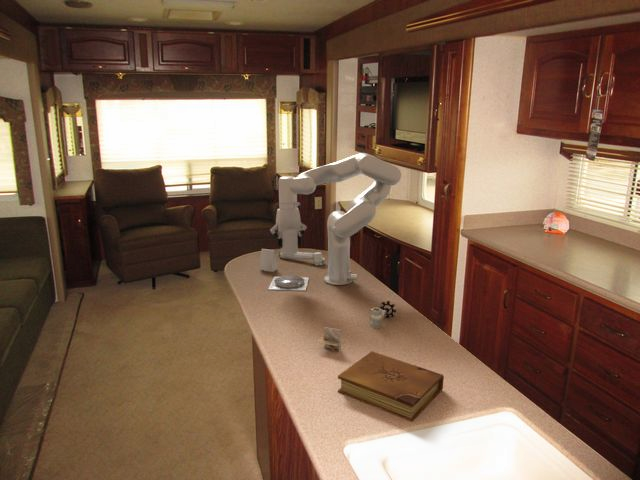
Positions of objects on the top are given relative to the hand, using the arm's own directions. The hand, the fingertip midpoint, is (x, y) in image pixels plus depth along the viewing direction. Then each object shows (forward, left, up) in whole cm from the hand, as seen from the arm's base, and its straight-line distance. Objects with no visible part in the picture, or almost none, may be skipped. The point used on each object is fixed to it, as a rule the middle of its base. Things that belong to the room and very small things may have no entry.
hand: (289, 245), depth 223 cm
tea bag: (+18, -13, -18) cm, 28 cm away
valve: (-49, +22, -18) cm, 57 cm away
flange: (0, 0, -17) cm, 17 cm away
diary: (-65, +65, -18) cm, 94 cm away
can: (0, 0, -4) cm, 4 cm away
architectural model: (-41, +49, -18) cm, 66 cm away
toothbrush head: (+10, -32, -18) cm, 38 cm away
